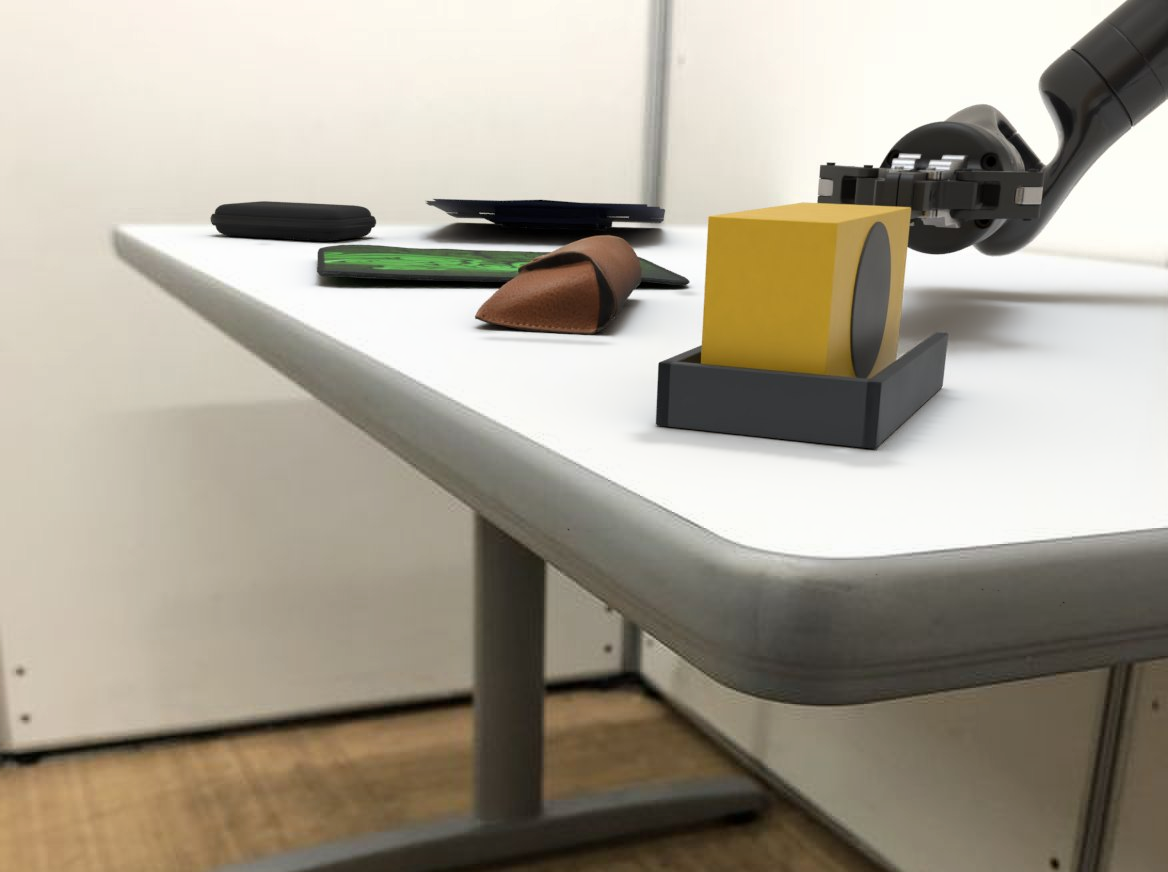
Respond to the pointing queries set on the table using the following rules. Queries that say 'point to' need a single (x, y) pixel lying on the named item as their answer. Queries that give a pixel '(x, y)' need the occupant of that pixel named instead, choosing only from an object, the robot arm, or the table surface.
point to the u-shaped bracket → (799, 398)
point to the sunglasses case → (568, 288)
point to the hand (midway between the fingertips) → (896, 196)
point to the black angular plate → (550, 213)
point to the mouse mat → (445, 264)
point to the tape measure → (805, 288)
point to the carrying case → (293, 220)
